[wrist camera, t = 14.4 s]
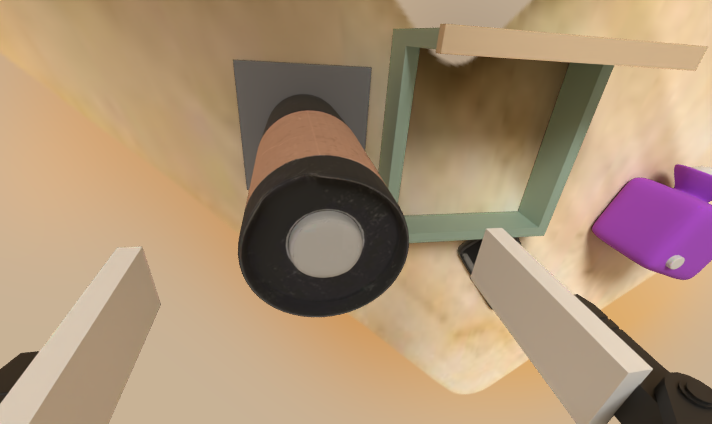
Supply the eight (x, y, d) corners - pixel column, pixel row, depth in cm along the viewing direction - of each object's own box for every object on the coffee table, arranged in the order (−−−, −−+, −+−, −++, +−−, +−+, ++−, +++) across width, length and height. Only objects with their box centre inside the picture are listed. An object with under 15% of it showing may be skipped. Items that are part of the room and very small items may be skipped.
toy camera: (693, 159, 43) (796, 191, 34) (633, 243, 49) (706, 288, 40) (635, 147, 40) (730, 178, 31) (578, 238, 46) (645, 285, 37)
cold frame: (393, 26, 28) (445, 23, 19) (587, 42, 32) (708, 46, 23) (372, 225, 38) (400, 287, 29) (523, 219, 42) (589, 271, 33)
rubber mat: (233, 59, 27) (232, 60, 27) (370, 67, 30) (371, 67, 29) (247, 188, 33) (247, 189, 33) (361, 186, 35) (361, 187, 35)
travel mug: (328, 178, 34) (372, 329, 17) (254, 156, 31) (216, 307, 14) (355, 107, 31) (443, 203, 14) (276, 77, 28) (261, 146, 11)
